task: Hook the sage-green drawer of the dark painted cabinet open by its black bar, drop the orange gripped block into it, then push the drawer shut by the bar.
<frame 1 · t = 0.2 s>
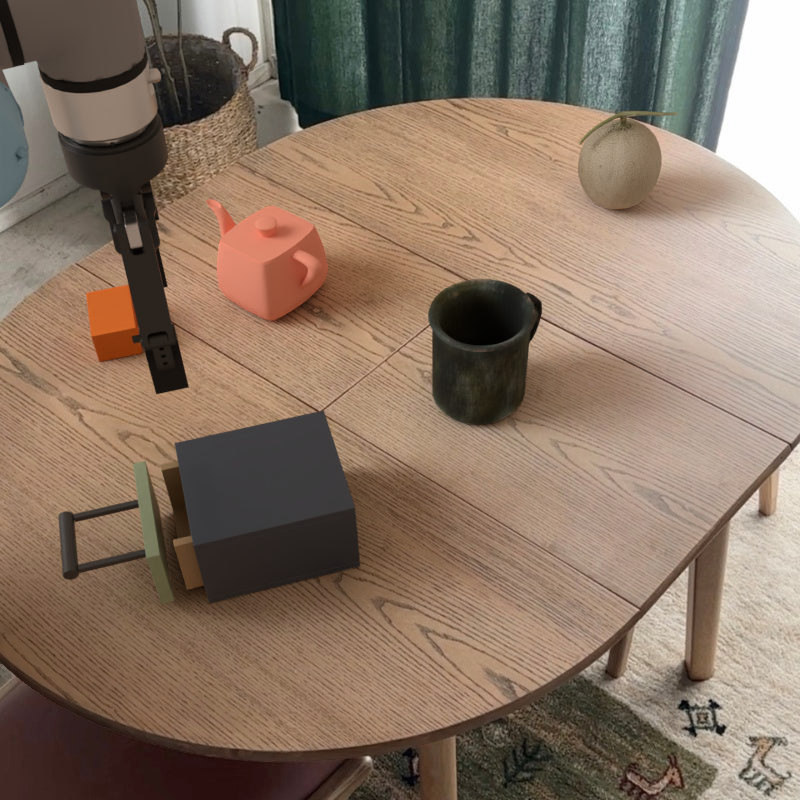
hand: (161, 335, 93), 22 cm above the table, tool pointing down, fingers open, 13 cm apart
cabinet: (272, 533, 104), on the table
orange gripped block: (117, 335, 125), on the table
fruit: (610, 203, 142), on the table
drawer: (177, 525, 100), point 5 cm above the table, slide at 3.0 cm
teapot: (271, 289, 131), on the table
mug: (488, 387, 118), on the table
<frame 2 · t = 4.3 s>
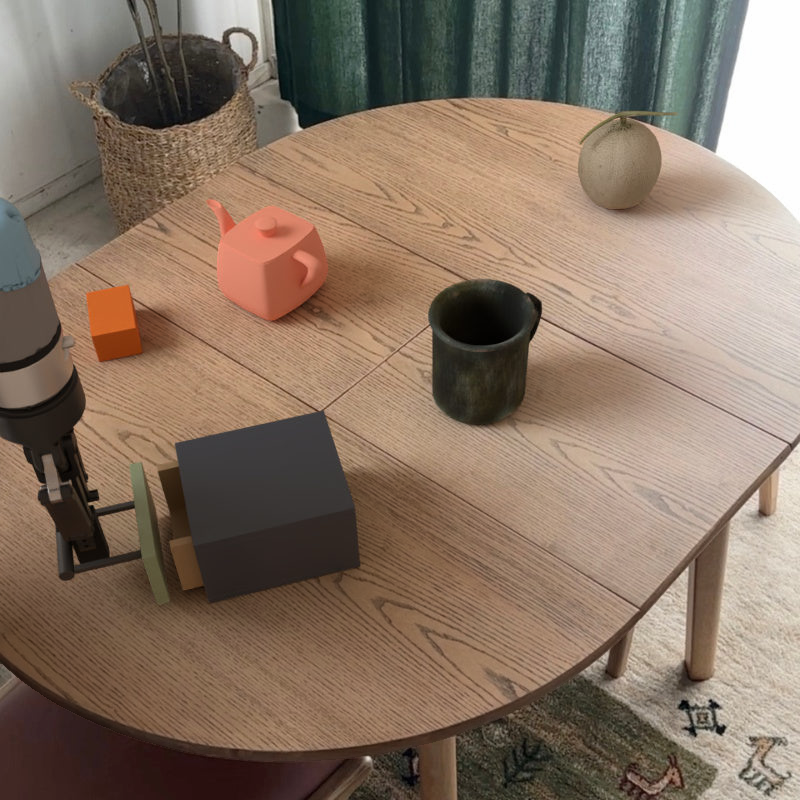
hand: (95, 556, 100), 3 cm above the table, tool pointing down, fingers closed
drawer: (173, 526, 100), point 5 cm above the table, slide at 3.4 cm, touching gripper
everything else where it was.
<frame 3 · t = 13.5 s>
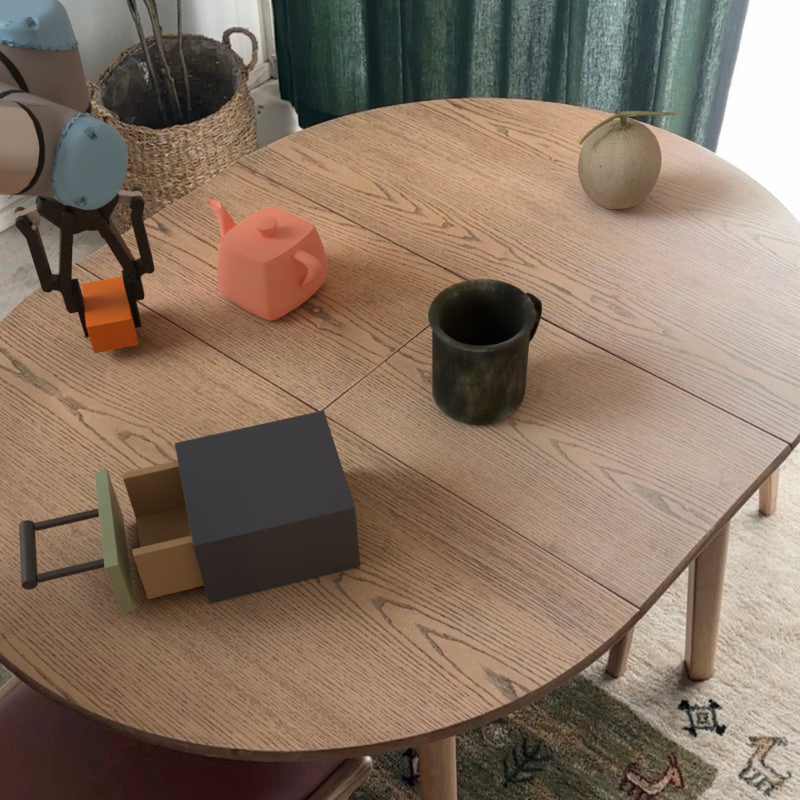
hand: (112, 324, 124), 2 cm above the table, tool pointing down, fingers closed on orange gripped block, 5 cm apart
orange gripped block: (113, 327, 124), point 2 cm above the table, touching gripper
drawer: (139, 534, 99), point 5 cm above the table, slide at 6.6 cm
everything else where it was.
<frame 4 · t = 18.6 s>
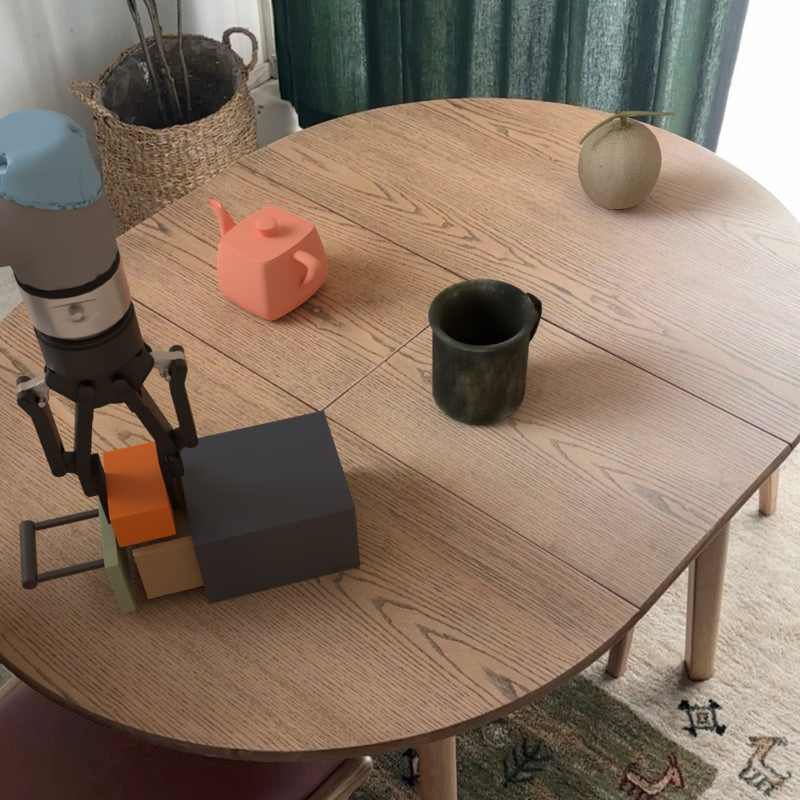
hand: (142, 504, 96), 9 cm above the table, tool pointing down, fingers closed on orange gripped block, 5 cm apart
orange gripped block: (143, 506, 96), point 8 cm above the table, touching gripper
everything else where it was.
when the fingers open (11 cm above the table, at t = 27.7 s): orange gripped block drops 8 cm, resting on drawer.
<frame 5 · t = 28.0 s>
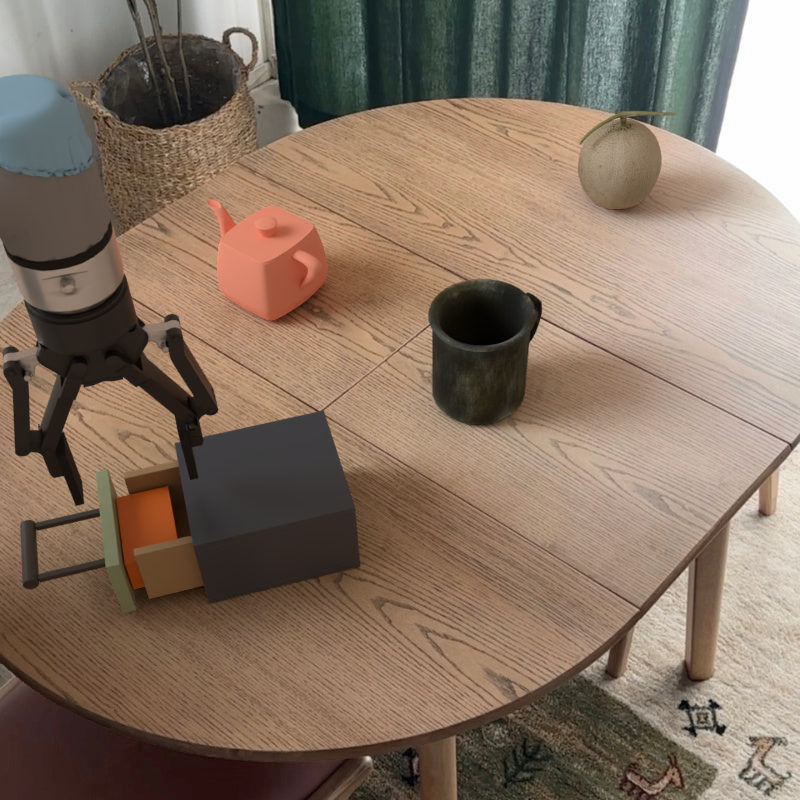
hand: (136, 480, 94), 12 cm above the table, tool pointing down, fingers open, 9 cm apart
orange gripped block: (155, 549, 101), point 2 cm above the table, touching drawer
drawer: (140, 534, 99), point 5 cm above the table, slide at 6.5 cm, touching orange gripped block
everything else where it was.
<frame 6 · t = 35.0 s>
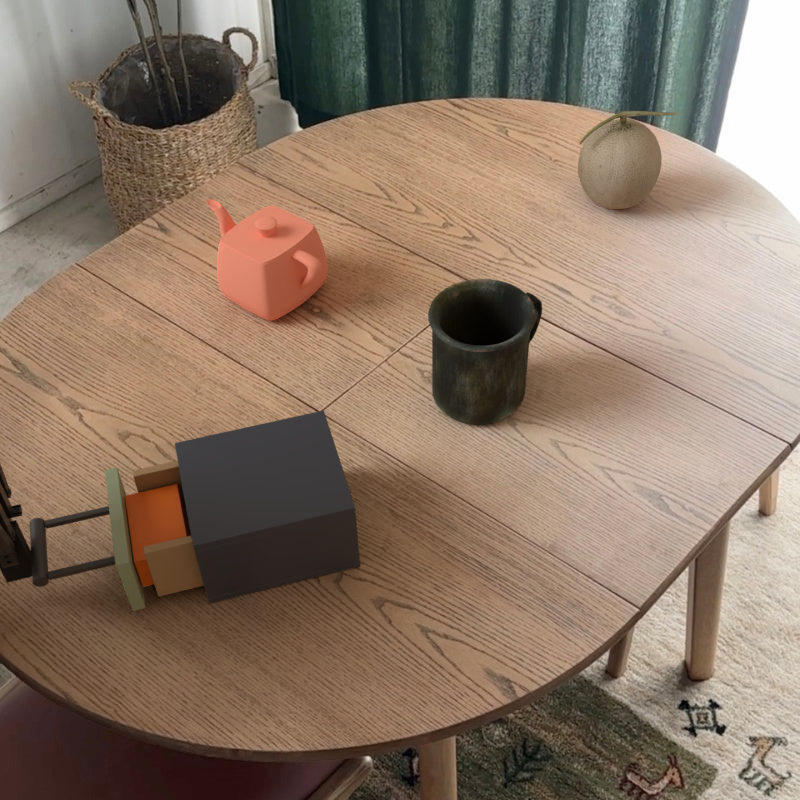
hand: (21, 572, 98), 3 cm above the table, tool pointing down, fingers closed
drawer: (149, 532, 99), point 5 cm above the table, slide at 5.6 cm, touching orange gripped block, gripper
everything else where it was.
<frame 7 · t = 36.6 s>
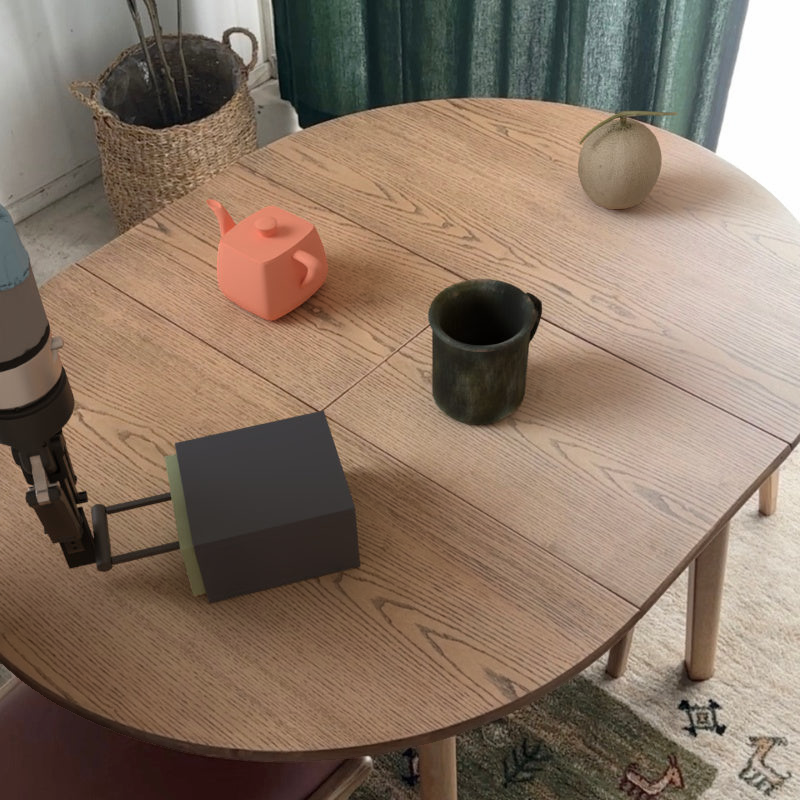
hand: (83, 559, 99), 3 cm above the table, tool pointing down, fingers closed
orange gripped block: (222, 533, 102), point 2 cm above the table, touching drawer
drawer: (209, 518, 100), point 5 cm above the table, slide at 0.0 cm, touching cabinet, orange gripped block, gripper
everything else where it was.
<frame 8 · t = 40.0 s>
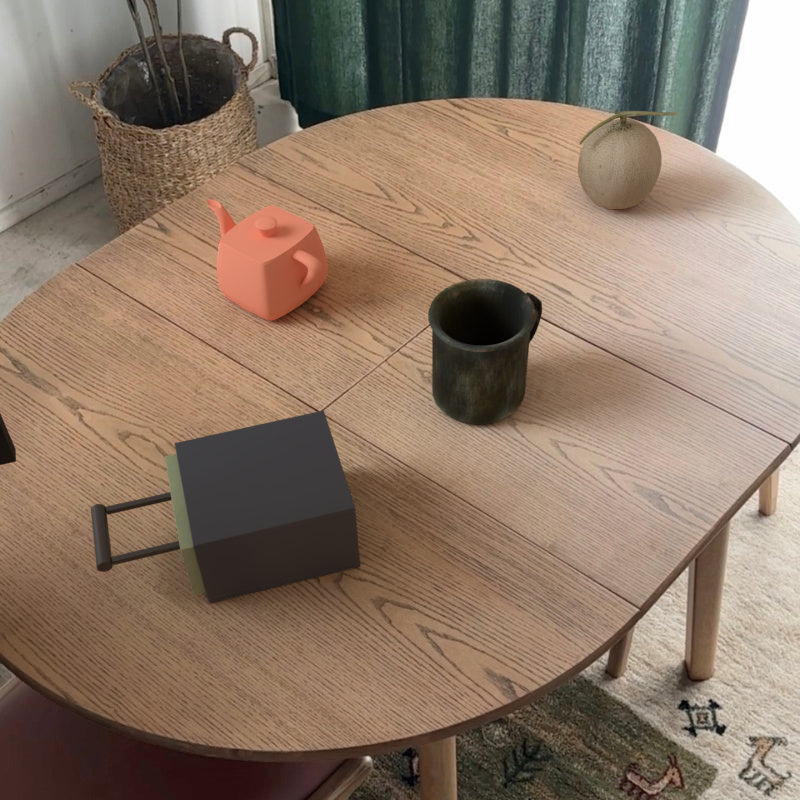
drawer: (209, 518, 100), point 5 cm above the table, slide at 0.0 cm, touching cabinet, orange gripped block
everything else where it was.
at the end: orange gripped block inside the target area in the cabinet (4.7 cm from its centre), point 2.0 cm above the cabinet's base; drawer slide at 0.0 cm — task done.
